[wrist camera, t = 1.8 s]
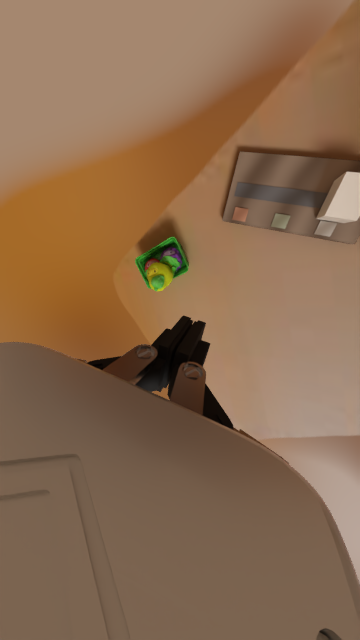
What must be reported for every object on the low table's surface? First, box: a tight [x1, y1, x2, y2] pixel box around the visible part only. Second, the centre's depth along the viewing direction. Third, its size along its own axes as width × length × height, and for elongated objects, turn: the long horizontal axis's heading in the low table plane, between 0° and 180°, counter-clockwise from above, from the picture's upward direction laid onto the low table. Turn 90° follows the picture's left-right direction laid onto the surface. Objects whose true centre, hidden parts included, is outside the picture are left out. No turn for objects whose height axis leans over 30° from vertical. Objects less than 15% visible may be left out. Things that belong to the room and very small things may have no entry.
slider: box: [316, 172, 360, 223], centre depth 25 cm, size 4×5×4 cm
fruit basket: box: [135, 237, 189, 291], centre depth 37 cm, size 11×9×11 cm
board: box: [223, 152, 360, 244], centre depth 29 cm, size 22×10×2 cm, turn 79°
